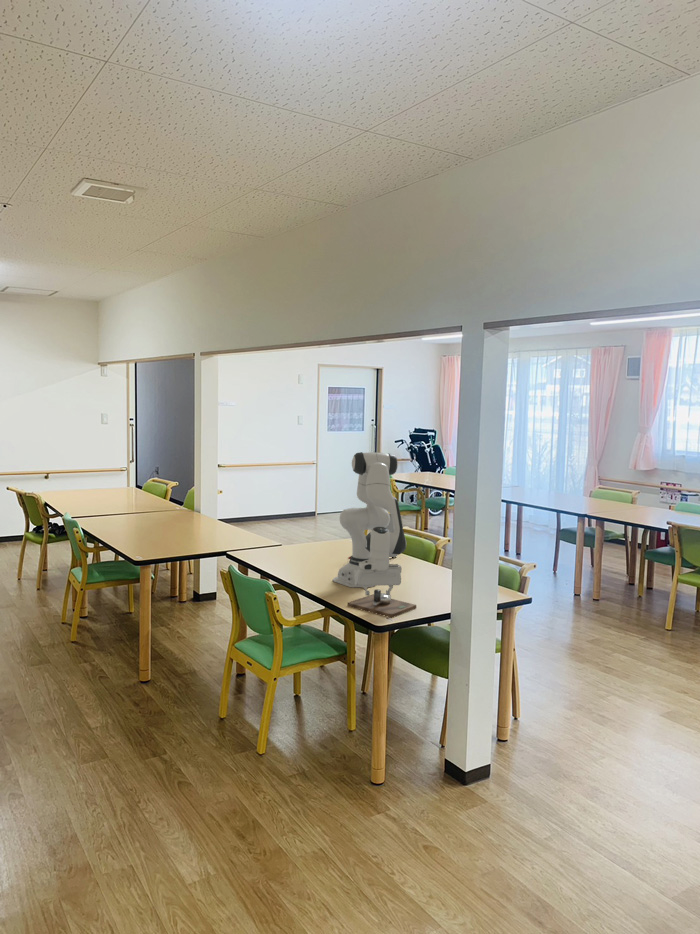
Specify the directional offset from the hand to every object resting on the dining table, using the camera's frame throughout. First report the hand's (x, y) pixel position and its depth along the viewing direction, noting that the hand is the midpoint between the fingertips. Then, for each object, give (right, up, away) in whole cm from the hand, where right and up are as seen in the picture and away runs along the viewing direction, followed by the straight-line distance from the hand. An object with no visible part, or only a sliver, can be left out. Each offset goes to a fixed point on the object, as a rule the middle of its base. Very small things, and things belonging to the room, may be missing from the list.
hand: (377, 595), depth 305 cm
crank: (+1, -5, +5) cm, 7 cm away
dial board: (+2, -7, +6) cm, 9 cm away
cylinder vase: (+10, +3, +111) cm, 111 cm away
